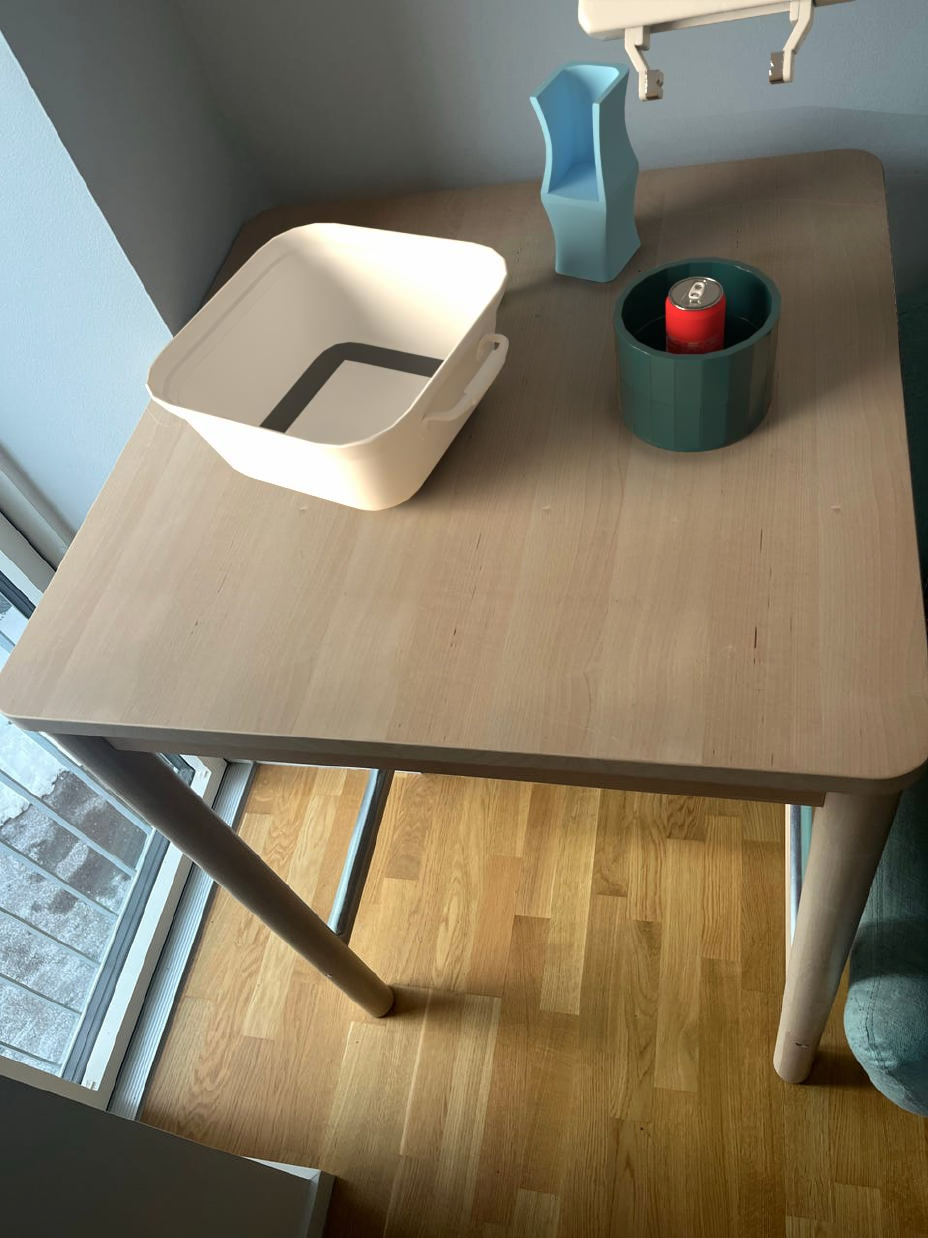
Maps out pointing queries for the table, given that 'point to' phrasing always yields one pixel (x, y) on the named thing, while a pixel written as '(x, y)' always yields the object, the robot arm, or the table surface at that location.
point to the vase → (588, 168)
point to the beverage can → (695, 316)
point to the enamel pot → (696, 359)
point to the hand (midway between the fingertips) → (714, 90)
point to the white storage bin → (340, 360)
